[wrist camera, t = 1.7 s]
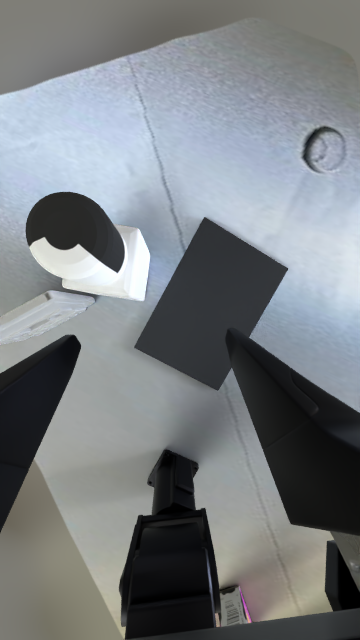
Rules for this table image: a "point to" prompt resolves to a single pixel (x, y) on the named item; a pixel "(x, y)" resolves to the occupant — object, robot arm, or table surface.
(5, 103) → the table surface
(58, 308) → the cassette
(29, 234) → the medicine bottle
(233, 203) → the table surface
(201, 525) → the robot arm
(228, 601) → the candy bar box
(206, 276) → the desk mat
